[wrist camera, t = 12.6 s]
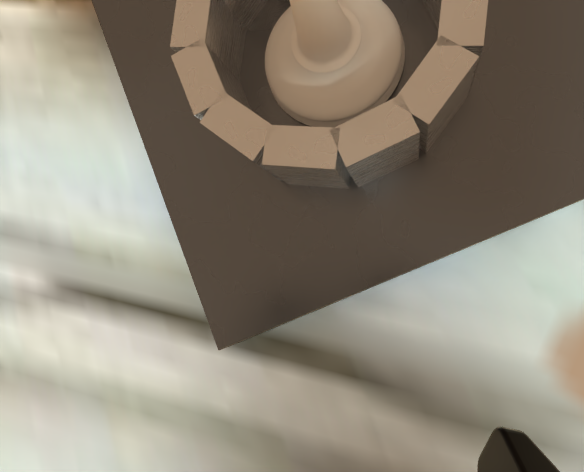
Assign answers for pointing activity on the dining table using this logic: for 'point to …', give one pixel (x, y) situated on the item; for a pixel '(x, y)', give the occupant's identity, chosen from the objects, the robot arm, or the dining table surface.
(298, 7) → the chess piece
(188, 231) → the lens mount
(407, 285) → the dining table surface
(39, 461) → the dining table surface
